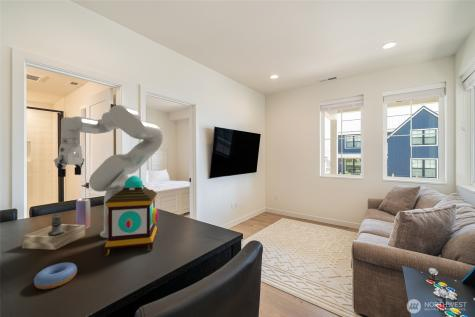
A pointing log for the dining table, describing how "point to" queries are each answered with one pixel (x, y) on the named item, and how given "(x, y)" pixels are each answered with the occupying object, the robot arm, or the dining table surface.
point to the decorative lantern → (131, 216)
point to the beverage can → (83, 212)
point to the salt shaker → (56, 226)
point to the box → (52, 237)
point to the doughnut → (55, 275)
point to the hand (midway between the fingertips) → (70, 175)
